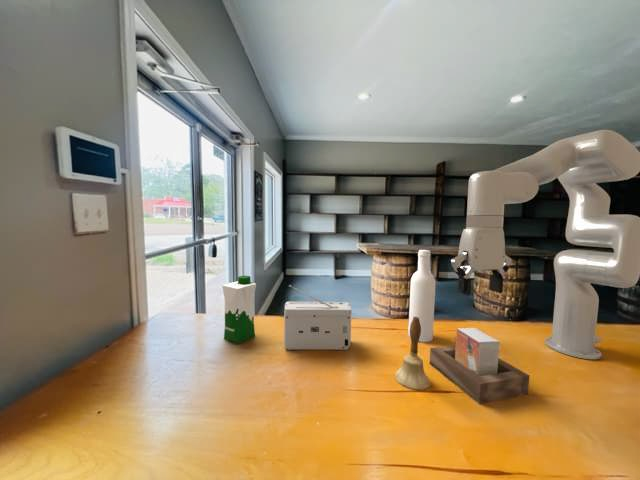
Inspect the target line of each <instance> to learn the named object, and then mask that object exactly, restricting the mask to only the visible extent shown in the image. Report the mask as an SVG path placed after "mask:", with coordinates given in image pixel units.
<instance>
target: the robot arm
mask: <svg viewBox="0 0 640 480" xmlns="http://www.w3.org/2000/svg"><path fill="white" fill-rule="evenodd" d="M639 173H640V151H639V149H637V148H636V147H635V145H633V144H632V143H631V142H630V141H629V140H628V139H627V138H626V137H624V136H623V135H621V134H620V133H618V132H616V131H615V130H611V129H610V130H609V129H599V130H595V131H591V132H587V133H586V132H585V133H583V134H577V135H574V136H569V137H566V138H562V139H560V140H557V141H555V142H553V143H551V144H549V145H548V146H546V147H544V148H543V149H541V150H539V151H537V152H535V153H533V154H531V155H529V156H527V157H524V158H520V159H518V160H516V161H514V162H512V163H509V164H505V165H503V166H501V167H499V168H496V169H494V170H483V171H477V172H474V173H472V175H470V177H469V179H468V188H467V202H466V203H467V207H466V223H465V224H466V225H465V227H466V228H463V230H462V233H461V236H460V241H459V246H458V254H457V256H455V257H453V258H452V259H451V260H450V263H451V266H452V270H453V271H454V273H455V275H456V277H458V284H457V292H458V293H459V294H462V295H465V296H470V295H471V292H472V291H471V290H472V289H471V288H472V279H471V278H470V277H471V276H472V274H473V273H474V272H477V271H478V272H482V271H490V273H491V274H489V287H488V290H490V291H492V292H494V293H499V294H502V293H503V291H504V289H503V288H504V278H505V277H506V275H507V271H508V270H509V269H510V268H509V267H510V266H511V265H510V264H511V263H512V258H511V257H510V256H508V255H507V254H506V242H505V241H506V240H505V232H504V215H505V214H504V213H505V205H511V204H512V205H513V204H522V203H525V202H528V201H530V200H532V199H534V198H535V196H536V195H537V194H538V191H539V187H540V186H541V185H545V184H548V183H550V182H553V181H554V180H556V179H558V182H560V184H561V185H562V187H563V189H564V190H565V192H566V193H567V195H568V199H569V207H568V216H567V219H566V221H567V222H566V225H565V226H566V227H565V239H566V241H567V242H568V243H570V244H571V245H574V246H575V245H576V246H583V247H593V248H594V247H596V248H597V247H598V248H609V249H610V248H611V249H613V252H606V251H598V250H586V249H567V250H562V251H559V252H558V253H556V254H555V256H554V258H553V259H554V260H553V268H554V269H553V270H554V276H555V294H554V295H555V296H554V297H555V298H554V304H553V305H554V306H553V318H552V319H553V320H552V329H551V337H550V336H549V337H546V338H545V339H544V344H545V345H546V346H547V347H549V348H551V349H552V350H554V351H556V352H559V353H561V354H564V355H567V356H570V357H575V358H578V359H583V360H584V359H585V360H598V359H601V358H602V351H600V350H599V349H597V348H595V344H597V343H602V338H601V337H600V336H596V333H597V323H598V312H599V302H600V300H599V295H598V293H597V291H596V290H595V288H594V287H593V286H592V285H591V284H595V285H601V286H609V287H613V288H621V289H627V288H631V287H634V286H635V285H636V284H637V283H638V281H639V279H640V217H639V216H638V215H633V214H610V205H611V197H610V195H609V193H607V192H606V191H605V190H604V189H603V187H601V186H599V185H598V184H600V183H610V182H620V181H624V180H625V181H627V180H629V179H631V178H634V177H635V176H637V175H638V174H639Z"/></svg>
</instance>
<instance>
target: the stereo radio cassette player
mask: <svg viewBox="0 0 640 480" xmlns="http://www.w3.org/2000/svg"><path fill="white" fill-rule="evenodd" d="M288 287H290V288H293V289H295V290H297V292H298V291H299V293H302V294H303V295H306V296H308V297H309V298H312V299H313V300H315V301H286V302H285V304H284V311H283V312H284V313H283V314H284V315H283V316H284V317H283V319H284V322H283V323H284V324H283V325H284V326H283V328H284V329H283V332H284V333H283V334H284V335H283V344H284V345H283V346H284V347H285V348H286V349H287V350H288V351H290V350H333V351H334V350H344V351H346V350H349V349H350V347H351V338H352V337H351V334H352V307H351V306H352V305H351V304H350V302H347V301H322V300H320V299H319V298H316V297H315V296H313V295H310V294H308V293H306V292H304V291H302V290H300V289H299V288H295V287H293V286H292V285H291V284H289V285H288Z"/></svg>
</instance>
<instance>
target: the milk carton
mask: <svg viewBox="0 0 640 480" xmlns="http://www.w3.org/2000/svg"><path fill="white" fill-rule="evenodd" d="M256 287H257V283H256V282H251V276H250V275H240V276H238V277H237V280H236V281H233V282H228V283H227V284H223V285H222V292H223V298H224V333H223V334H224V335H223V339H224V340H227V341H229V342H232V343H234V344H238V345H239V344H242V343H243V342H245V341H247V340H250V339H251V338H254V337H255V336H256V334H255V333H256V332H255V330H256V329H255V315H254V314H255V292H256Z"/></svg>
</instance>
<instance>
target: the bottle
mask: <svg viewBox="0 0 640 480" xmlns="http://www.w3.org/2000/svg"><path fill="white" fill-rule="evenodd" d="M417 257H418V258H417V259H418V260H417V270H416V271H415V272H414V273H413V274H412V276H411V278H410V287H409V289H410V291H409V293H410V294H409V308H408V309H409V313H408V329H407V331H408V332H407V334H408V335H407V336H408V337H409V338H410V339H411V337H410V325H411V322H412V320H413V317H418V318H419V322H420V325H421V335H420V338H419V341H418V343H419V342H420V343H429V342H432V341H433V340H434V339H433V337H434V321H435V318H434V317H435V303H436V302H435V299H436V278H435V276H434V275H433V273H432V272H431V271H430V266H431V265H430V262H431V250H429V249H419V250H418V253H417Z"/></svg>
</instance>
